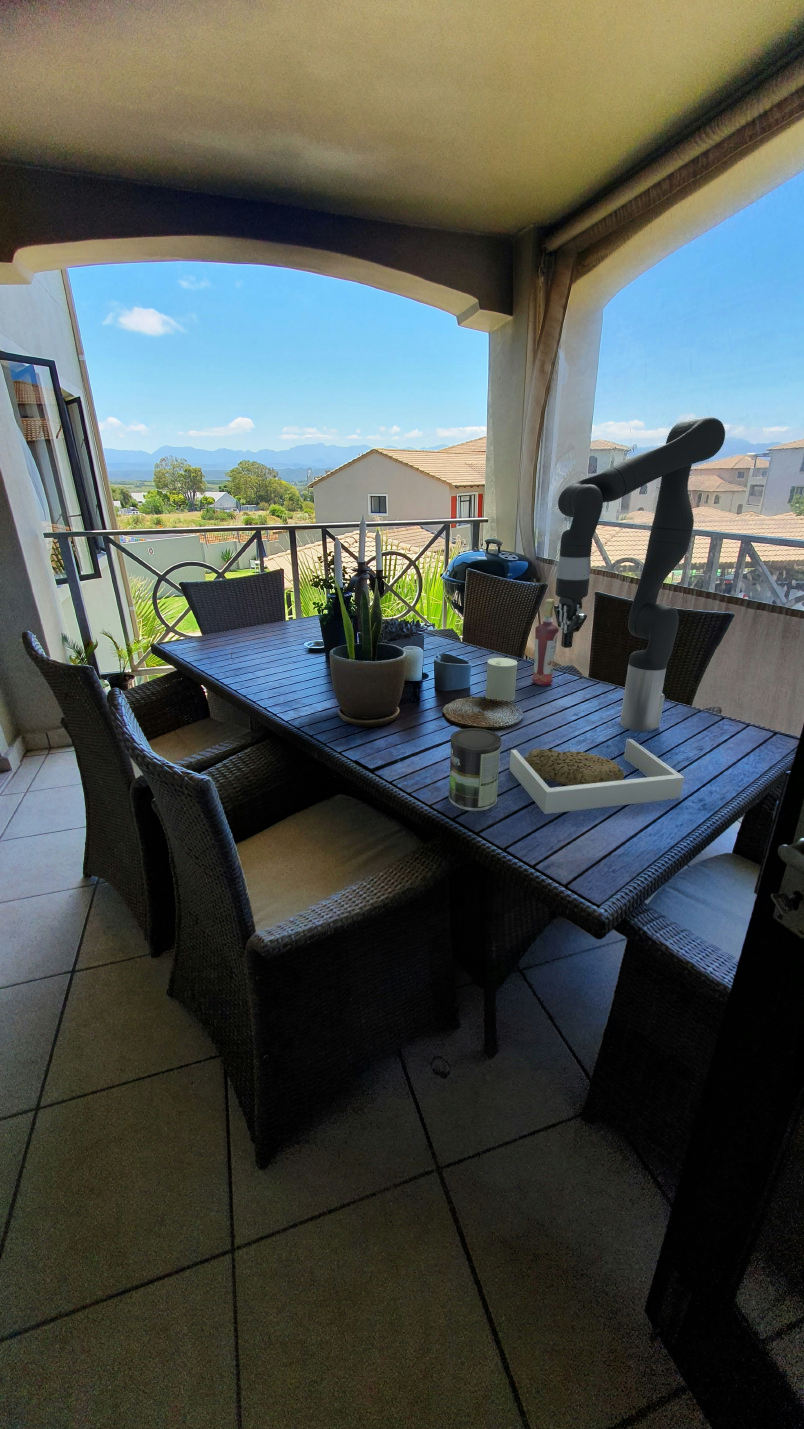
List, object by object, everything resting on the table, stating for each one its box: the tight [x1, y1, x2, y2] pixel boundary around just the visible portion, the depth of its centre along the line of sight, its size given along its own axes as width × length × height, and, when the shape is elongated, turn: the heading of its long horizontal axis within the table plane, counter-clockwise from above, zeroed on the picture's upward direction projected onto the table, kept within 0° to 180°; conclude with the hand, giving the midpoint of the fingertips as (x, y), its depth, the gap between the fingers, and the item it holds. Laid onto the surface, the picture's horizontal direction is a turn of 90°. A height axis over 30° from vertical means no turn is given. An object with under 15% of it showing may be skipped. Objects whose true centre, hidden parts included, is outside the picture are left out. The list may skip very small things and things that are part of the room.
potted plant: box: [329, 573, 408, 728], centre depth 154 cm, size 21×22×40 cm
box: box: [509, 738, 685, 815], centre depth 123 cm, size 30×20×5 cm, turn 101°
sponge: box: [523, 748, 626, 786], centre depth 124 cm, size 13×8×20 cm
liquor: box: [531, 598, 560, 687], centre depth 181 cm, size 7×7×28 cm
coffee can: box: [448, 727, 502, 812], centre depth 116 cm, size 10×10×14 cm
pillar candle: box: [484, 657, 518, 703], centre depth 173 cm, size 9×9×12 cm
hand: (566, 646), depth 139 cm, fingers closed
